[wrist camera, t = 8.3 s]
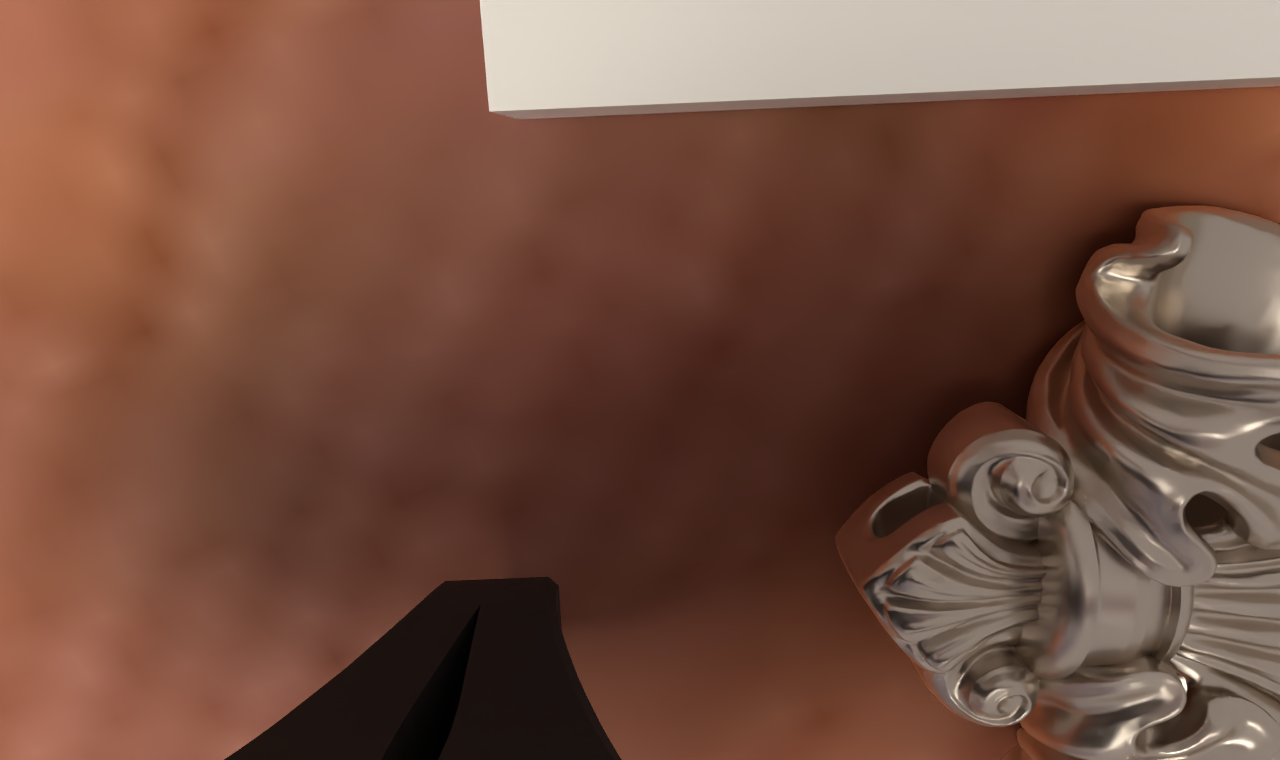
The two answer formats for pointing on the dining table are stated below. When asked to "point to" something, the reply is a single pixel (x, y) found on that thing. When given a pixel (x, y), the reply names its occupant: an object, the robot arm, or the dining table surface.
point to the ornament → (1109, 517)
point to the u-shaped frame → (860, 51)
